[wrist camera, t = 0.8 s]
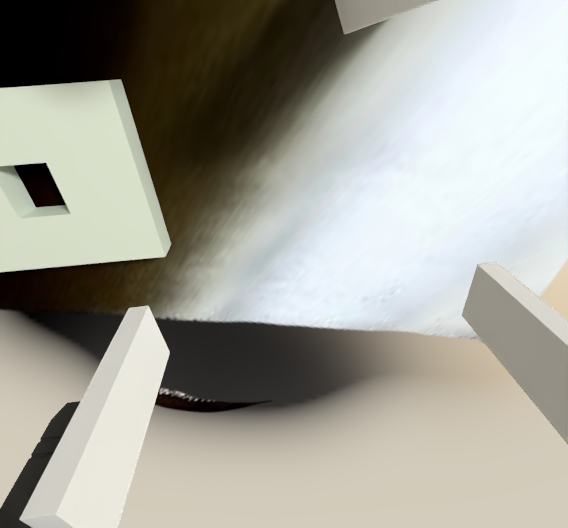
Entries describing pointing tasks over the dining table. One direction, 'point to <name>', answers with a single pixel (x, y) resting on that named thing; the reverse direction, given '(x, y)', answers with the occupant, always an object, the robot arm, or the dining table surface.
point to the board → (76, 179)
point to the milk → (372, 11)
